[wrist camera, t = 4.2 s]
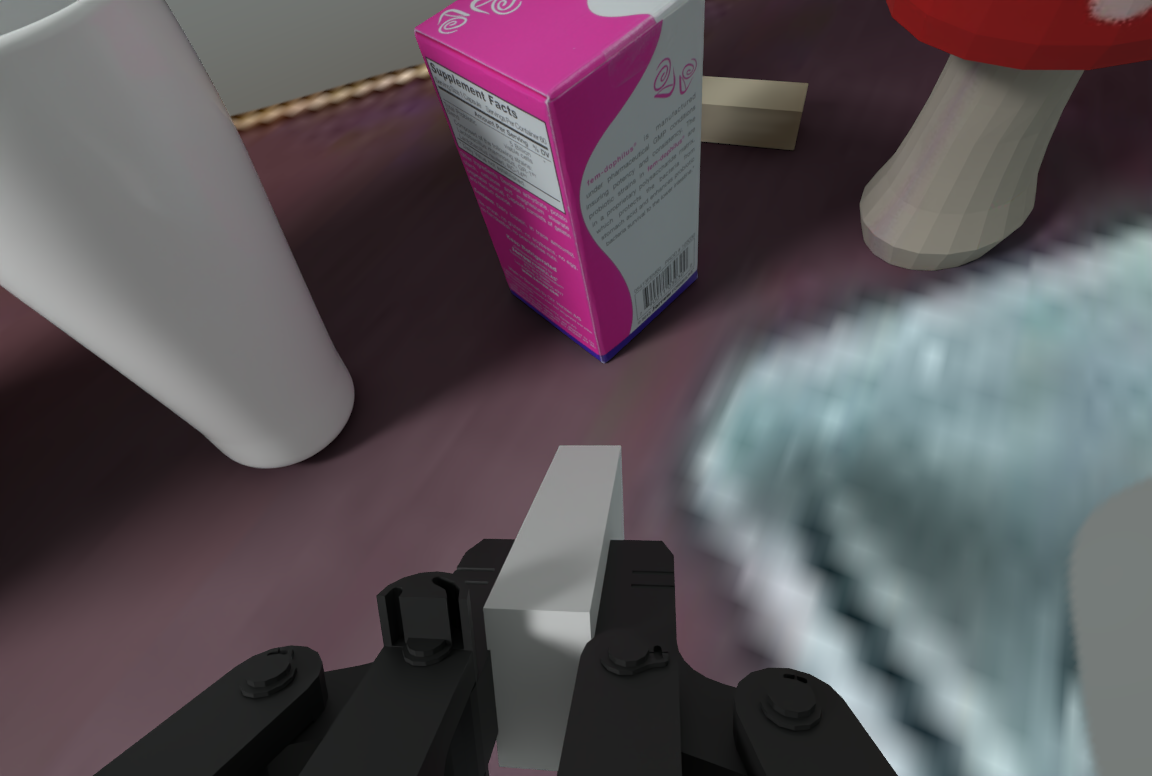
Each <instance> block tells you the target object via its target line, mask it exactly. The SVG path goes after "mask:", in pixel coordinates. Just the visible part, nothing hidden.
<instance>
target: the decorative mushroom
mask: <svg viewBox="0 0 1152 776" xmlns="http://www.w3.org/2000/svg"><path fill="white" fill-rule="evenodd" d="M886 2H887V5H888V7H889V10H890V13H891V16H892V17H893V18H894V19H895V20H896V21H897V22H898V23H899V24H901V25H902V26H903V27H904V28H905V29H906V30H907V31H909V32H910V33H911V34H912V35H913V36H914V37H915V38H917V39H918V40H919V41H921V42H923V43H926V44H928V45H931V46H933V47H935V48H938V49H940V50H943V51H945V52H947V53H950V54H951V55H950V57H949V59H948V61H947V63H946V65H945V67H944V69H943V71H942V73H941V75H940V77H939V79H938V81H937V83H936V85H935V87H934V89H933V91H932V93H931V95H930V97H929V99H928V101H927V102H926V104H925V106H924V107H923V109H922V111H921V112H920V114H919V116H918V118H917V119H916V121H915V123H914V124H913V126H912V128H911V130H910V131H909V133H908V134H907V136H906V137H905V139H904V140H903V142H902V143H901V145H900V146H899V148H898V149H897V151H896V152H895V154H894V155H893V156H892V157H891V158H890V159H889V160H888V161H887V162H886V163H885V165H884V166H883V167H882V168H881V169H880V170H879V171H878V172H877V173H876V174H875V175H874V177H873V178H872V179H871V180H870V181H869V183H868V184H867V185H866V186H865V188H864V191H863V194H862V198H861V201H860V215H861V227H862V233H863V238H864V242H865V243H866V245H867V246H868V247H869V249H870V250H871V251H872V252H873V254H874V255H876V256H878V257H879V258H881V259H883V260H884V261H886V262H887V263H889V264H892V265H896V266H899V267H903V268H907V269H910V270H932V271H935V270H941V269H947V268H952V267H958V266H961V265H963V264H965V263H968V262H970V261H973V260H975V259H978V258H980V257H981V256H982V255H984V254H985V253H986V252H988V251H989V250H991V249H992V248H993V247H995V246H996V245H997V244H998V243H1000V242H1001V241H1002V240H1004V239H1005V238H1006V237H1007V236H1009V235H1010V234H1011V233H1012V232H1014V231H1015V230H1016V229H1017V228H1019V227H1020V226H1021V225H1022V224H1023V223H1024V221H1025V220H1026V218H1027V217H1028V215H1029V214H1030V213H1031V211H1032V210H1033V208H1034V202H1035V195H1036V186H1037V176H1038V171H1039V168H1040V165H1041V163H1042V160H1043V157H1044V154H1045V151H1046V149H1047V146H1048V143H1049V141H1050V139H1051V136H1052V134H1053V132H1054V129H1055V127H1056V125H1057V123H1058V120H1059V118H1060V116H1061V113H1062V111H1063V109H1064V107H1065V105H1066V103H1067V102H1068V100H1069V98H1070V96H1071V94H1072V92H1073V90H1074V88H1075V86H1076V85H1077V83H1078V81H1079V79H1080V77H1081V75H1082V74H1083V72H1084V70H1092V69H1098V68H1104V67H1110V66H1116V65H1122V64H1128V63H1134V62H1140V61H1146V60H1152V0H886Z"/></svg>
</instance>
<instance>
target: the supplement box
mask: <svg viewBox="0 0 1152 776" xmlns="http://www.w3.org/2000/svg"><path fill="white" fill-rule="evenodd" d="M704 10H705V0H457V1H455V2H454V3H452V4H451V5H449V6H448V7H446V8H445V9H444V10H442V11H440V12H439V13H437V14H436V15H434V16H433V17H431V18H429V19H428V20H426V21H425V22H423V23H422V24H420V25H418V26H416V28H415V29H414V33H415V36H416V39H417V42H418V45H419V48H420V50H421V53H422V56H423V58H424V61H425V64H426V67H427V69H428V72H429V74H430V77H431V80H432V82H433V85H434V88H435V90H436V93H437V96H438V98H439V101H440V104H441V106H442V109H443V111H444V114H445V117H446V120H447V122H448V125H449V128H450V130H451V133H452V136H453V138H454V141H455V144H456V147H457V149H458V151H459V154H460V157H461V160H462V162H463V165H464V167H465V170H466V173H467V175H468V178H469V181H470V183H471V186H472V188H473V191H474V194H475V196H476V199H477V202H478V204H479V207H480V210H481V213H482V215H483V218H484V220H485V223H486V226H487V228H488V231H489V234H490V237H491V239H492V242H493V245H494V247H495V250H496V253H497V255H498V258H499V261H500V263H501V266H502V269H503V271H504V274H505V277H506V280H507V282H508V285H509V287H510V290H511V293H512V294H513V295H515V296H516V297H517V298H519V299H520V300H521V301H523V302H524V303H525V304H526V305H528V306H529V307H530V308H532V309H533V310H534V311H535V312H537V313H538V314H539V315H541V316H542V317H543V318H545V319H546V320H547V321H548V322H550V323H551V324H552V325H554V326H555V327H556V328H557V329H559V330H560V331H561V332H563V333H564V334H565V335H567V336H568V337H569V338H570V339H572V340H573V341H574V342H576V343H577V344H578V345H580V346H581V347H582V348H584V349H585V350H586V351H587V352H589V353H590V354H591V355H593V356H594V357H596V358H597V359H598V360H600V361H601V362H602V363H606V362H607V361H609V360H610V359H611V358H612V357H614V356H615V355H616V354H617V353H618V352H619V351H620V350H621V349H622V348H623V347H624V346H625V345H627V344H628V343H629V342H630V341H631V340H632V339H633V338H634V337H635V336H636V335H637V334H638V333H639V332H641V331H642V330H643V329H644V328H645V327H646V326H647V325H648V324H649V323H650V322H651V321H652V320H653V319H654V318H655V317H657V316H658V315H659V314H660V313H661V312H662V311H663V310H664V309H665V308H666V307H667V306H668V305H669V304H670V303H671V302H673V301H674V300H675V299H676V298H677V297H678V296H679V295H680V294H681V293H682V292H683V291H684V290H685V289H686V288H687V287H688V286H690V285H691V284H692V283H693V282H694V281H695V280H696V279H697V278H698V273H697V264H698V224H699V185H700V150H701V118H702V76H703V46H704Z"/></svg>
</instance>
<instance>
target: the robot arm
mask: <svg viewBox="0 0 1152 776" xmlns="http://www.w3.org/2000/svg"><path fill="white" fill-rule="evenodd" d="M377 603H378V610H379V616H380V623H381V630H382V636H383V643H384V647H383V649H382V650H381V652H380V653H379V655H378V656H377V658H376V659H375V661H374V662H372V663H368V664H364V665H360V666H355V667H349V668H344V669H338V670H333V671H327V672H324V669H323V664H322V661H321V658H320V656H319V654H318V652H316V651H314V650H312V649H310V648H308V647H303V646H286V647H280V648H274V649H270V650H268V651H265V652H263V653H260V654H258V655H255V656H253V657H251V658H249V659H248V660H246V661H244V662H243V663H241V664H239V665H238V666H236V667H235V668H233V669H232V670H231V671H229V672H228V673H227V674H226V675H224V676H223V677H222V678H220V679H219V680H218V681H216V682H215V683H214V684H212V685H211V686H210V687H208V688H207V689H206V690H205V691H203V692H202V693H201V694H199V695H198V696H197V697H195V698H194V699H193V700H191V701H190V702H189V703H188V704H186V705H185V706H184V707H182V708H181V709H180V710H178V711H177V712H176V713H174V714H173V715H172V716H170V717H169V718H168V719H167V720H165V721H164V722H163V723H161V724H160V725H159V726H157V727H156V728H155V729H153V730H152V731H151V732H150V733H148V734H147V735H146V736H144V737H143V738H142V739H140V740H139V741H138V742H136V743H135V744H134V745H132V746H131V747H130V748H129V749H127V750H126V751H125V752H123V753H122V754H121V755H119V756H118V757H117V758H115V759H114V760H113V761H112V762H110V763H109V764H108V765H106V766H105V767H104V768H102V769H101V770H100V771H98V772H97V773H96V774H95V775H93V776H489V770H488V763H489V760H490V757H491V754H492V750H493V747H494V744H495V741H496V740H497V750H498V760H499V767H511V768H524V769H537V770H549V771H558V773H557V776H898V775H897V774H896V772H895V771H894V770H893V768H892V767H891V765H890V764H889V763H888V761H887V760H886V758H885V757H884V756H883V754H882V753H881V751H880V750H879V749H878V747H877V746H876V744H875V743H874V742H873V740H872V739H871V737H870V736H869V734H868V733H867V732H866V730H865V729H864V727H863V726H862V725H861V723H860V722H859V720H858V719H857V718H856V716H855V715H854V713H853V712H852V711H851V709H850V708H849V706H848V705H847V704H846V702H845V701H844V699H843V698H842V697H841V696H840V695H839V694H838V693H837V692H836V691H835V690H834V689H833V688H832V687H831V686H830V685H828V684H826V683H825V682H823V681H821V680H819V679H818V678H816V677H814V676H812V675H810V674H807V673H804V672H800V671H797V670H793V669H789V668H766V669H762V670H759V671H755V672H752V673H750V674H749V675H747V676H746V677H745V678H744V679H743V680H741V681H740V682H739V683H738V686H737V688H735V687H732V686H729V685H725V684H722V683H719V682H717V681H714V680H712V679H709V678H706V677H705V676H703V675H701V674H700V673H698V672H697V671H695V670H693V669H692V668H691V667H690V666H689V665H688V664H687V663H686V662H685V661H684V659H683V658H682V656H681V654H680V653H679V651H678V646H677V640H676V612H675V583H674V555H673V554H672V553H671V552H670V550H669V549H668V548H667V547H666V545H665V544H664V543H663V542H662V541H642V540H624V520H623V490H622V460H621V446H559V448H558V450H557V452H556V454H555V456H554V458H553V461H552V463H551V465H550V467H549V469H548V471H547V473H546V476H545V478H544V480H543V482H542V484H541V486H540V488H539V490H538V493H537V495H536V497H535V499H534V501H533V503H532V505H531V507H530V510H529V512H528V514H527V516H526V518H525V520H524V522H523V524H522V527H521V529H520V531H519V533H518V535H517V537H516V539H515V540H512V539H483V540H482V541H481V542H479V543H478V544H476V545H475V546H474V547H472V548H471V549H470V550H468V551H467V552H466V553H465V555H464V556H463V558H462V560H461V561H460V563H459V565H458V566H457V571H454V573H453V574H451V573H444V572H426V573H418V574H415V575H411V576H408V577H404V578H402V579H400V580H398V581H396V582H394V583H392V584H390V585H388V586H387V587H386V588H385V589H383V590H382V591H381V592H380V593H379V594H378V595H377Z"/></svg>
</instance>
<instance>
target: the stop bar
mask: <svg viewBox="0 0 1152 776" xmlns="http://www.w3.org/2000/svg"><path fill="white" fill-rule="evenodd" d="M807 88H808V83H797V82H782V81H768V80H753V79H738V78H724V77H709V76H702V118H701V141H702V142H712V143H723V144H733V145H743V146H754V147H764V148H774V149H785V150H794V148H795V144H796V139H797V134H798V130H799V125H800V120H801V116H802V111H803V106H804V102H805V97H806V92H807Z"/></svg>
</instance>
